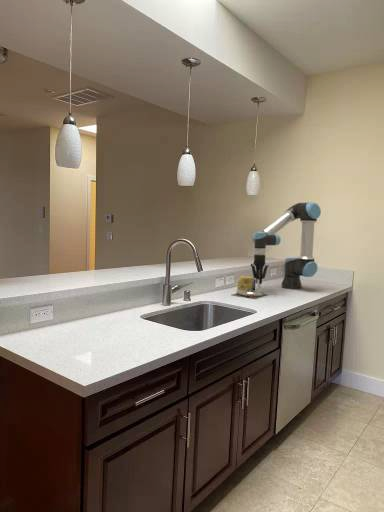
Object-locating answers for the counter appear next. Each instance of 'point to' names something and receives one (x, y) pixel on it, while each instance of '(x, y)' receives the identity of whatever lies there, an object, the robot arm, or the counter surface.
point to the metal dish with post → (250, 291)
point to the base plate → (248, 296)
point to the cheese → (245, 282)
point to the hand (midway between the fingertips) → (258, 288)
